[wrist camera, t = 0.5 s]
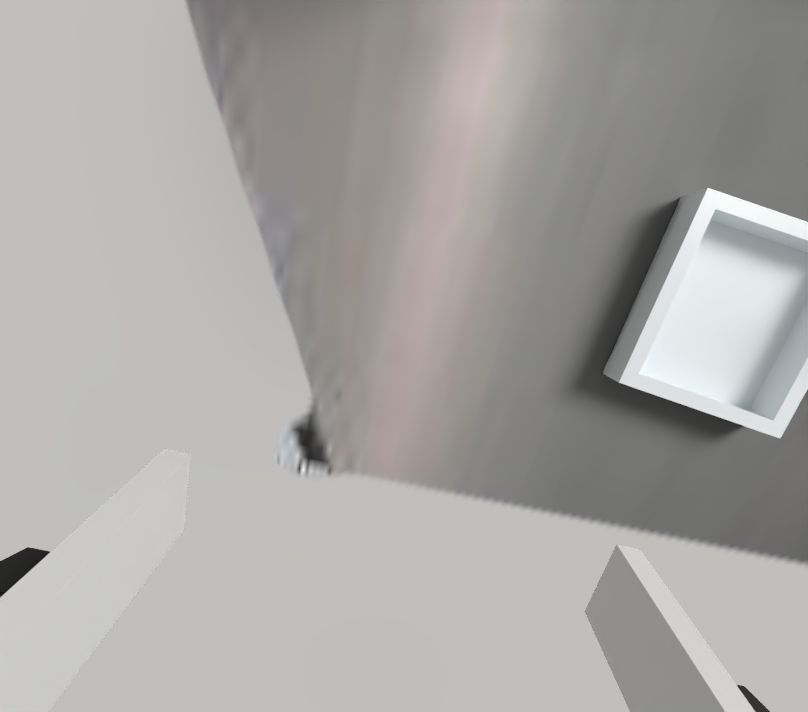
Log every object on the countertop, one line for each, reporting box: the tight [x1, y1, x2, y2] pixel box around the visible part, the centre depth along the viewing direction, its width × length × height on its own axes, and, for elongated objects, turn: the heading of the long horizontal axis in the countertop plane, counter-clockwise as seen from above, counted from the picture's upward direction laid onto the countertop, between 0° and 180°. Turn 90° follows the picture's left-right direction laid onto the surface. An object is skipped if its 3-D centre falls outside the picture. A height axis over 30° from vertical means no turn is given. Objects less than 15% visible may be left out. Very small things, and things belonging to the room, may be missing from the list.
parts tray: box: [602, 188, 808, 438], centre depth 35 cm, size 16×14×4 cm
